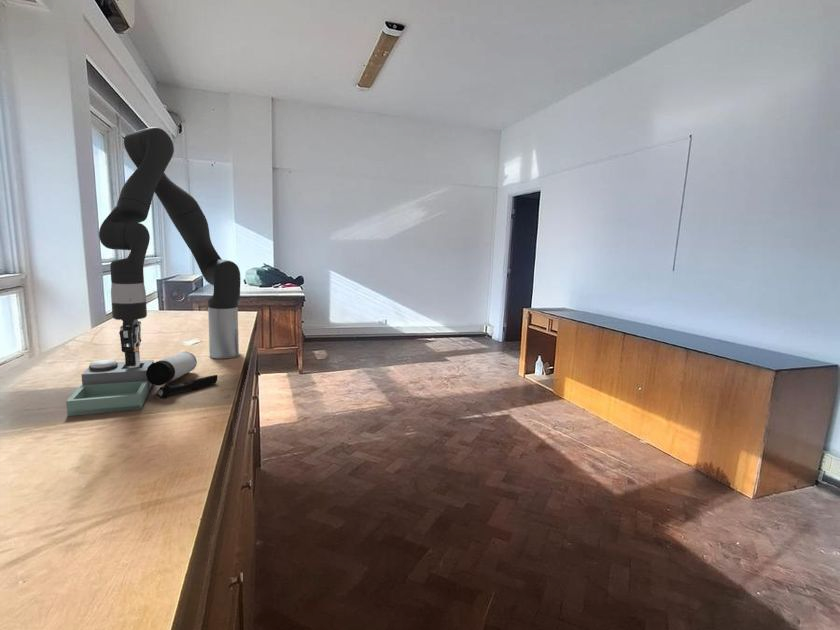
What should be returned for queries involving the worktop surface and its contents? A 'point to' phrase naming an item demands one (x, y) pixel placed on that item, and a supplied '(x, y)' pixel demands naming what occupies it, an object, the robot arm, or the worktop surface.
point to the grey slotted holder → (115, 373)
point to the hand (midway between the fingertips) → (132, 362)
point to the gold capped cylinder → (136, 359)
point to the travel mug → (170, 368)
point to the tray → (107, 398)
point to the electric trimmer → (186, 386)
